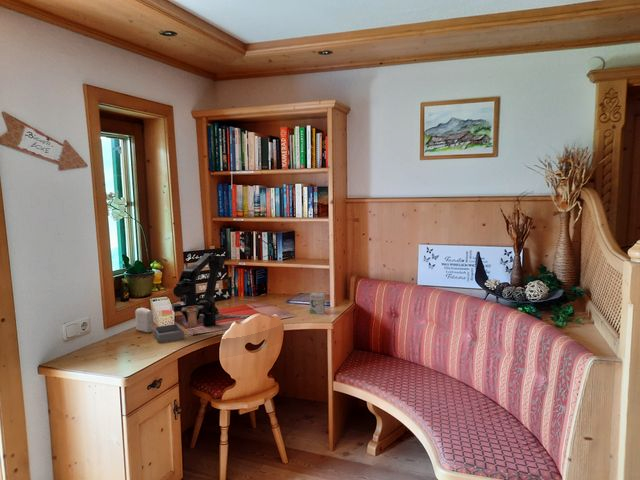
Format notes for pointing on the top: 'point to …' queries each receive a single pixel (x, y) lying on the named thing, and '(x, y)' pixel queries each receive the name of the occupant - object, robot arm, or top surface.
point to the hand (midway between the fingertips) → (191, 321)
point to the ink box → (317, 303)
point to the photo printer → (144, 320)
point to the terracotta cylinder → (191, 319)
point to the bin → (168, 333)
